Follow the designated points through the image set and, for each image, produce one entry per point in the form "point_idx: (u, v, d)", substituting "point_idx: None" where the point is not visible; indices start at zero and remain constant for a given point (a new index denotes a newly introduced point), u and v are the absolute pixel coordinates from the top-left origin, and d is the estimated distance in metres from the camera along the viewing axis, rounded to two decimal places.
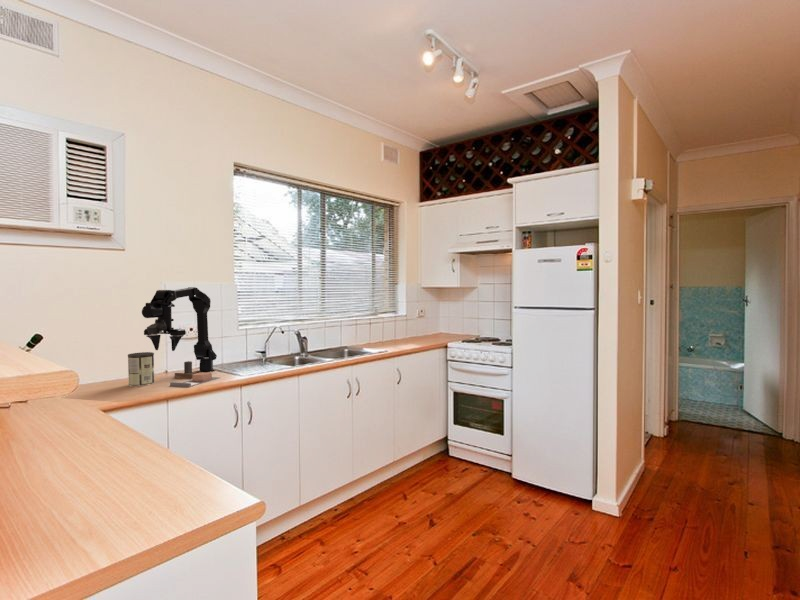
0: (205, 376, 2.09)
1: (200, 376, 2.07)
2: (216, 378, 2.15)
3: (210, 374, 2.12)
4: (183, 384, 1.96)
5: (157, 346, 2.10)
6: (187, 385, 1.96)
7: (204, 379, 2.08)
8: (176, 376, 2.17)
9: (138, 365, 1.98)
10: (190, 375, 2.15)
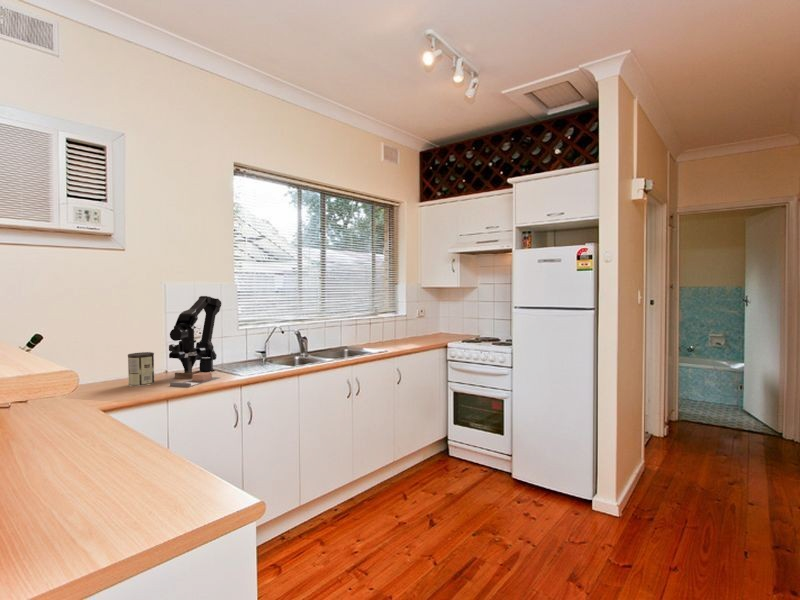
0: (205, 376, 2.09)
1: (200, 376, 2.07)
2: (216, 378, 2.15)
3: (210, 374, 2.12)
4: (183, 384, 1.96)
5: None
6: (187, 385, 1.96)
7: (204, 379, 2.08)
8: (176, 376, 2.17)
9: (138, 365, 1.98)
10: (190, 374, 2.15)
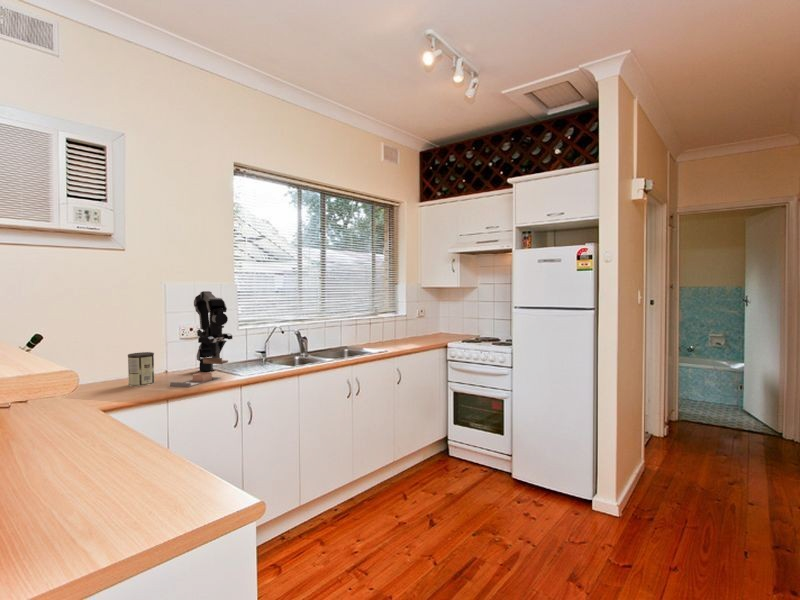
0: (205, 376, 2.09)
1: (200, 376, 2.07)
2: (216, 378, 2.15)
3: (210, 374, 2.12)
4: (183, 384, 1.96)
5: None
6: (187, 385, 1.96)
7: (204, 379, 2.08)
8: (204, 360, 2.19)
9: (138, 365, 1.98)
10: (218, 359, 2.16)
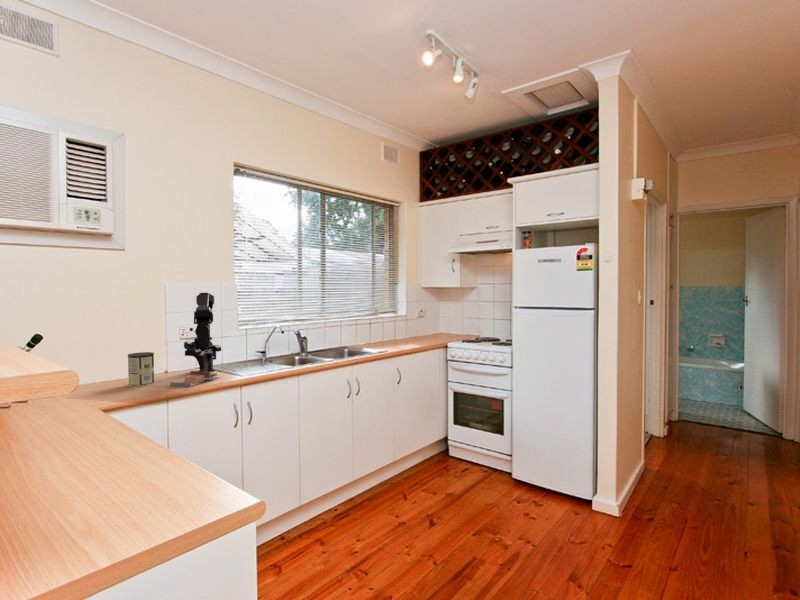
0: (198, 378, 2.04)
1: (192, 378, 2.03)
2: (216, 378, 2.15)
3: (203, 376, 2.07)
4: (183, 384, 1.96)
5: None
6: (187, 385, 1.96)
7: (197, 381, 2.03)
8: (192, 374, 2.10)
9: (138, 365, 1.98)
10: (206, 373, 2.08)
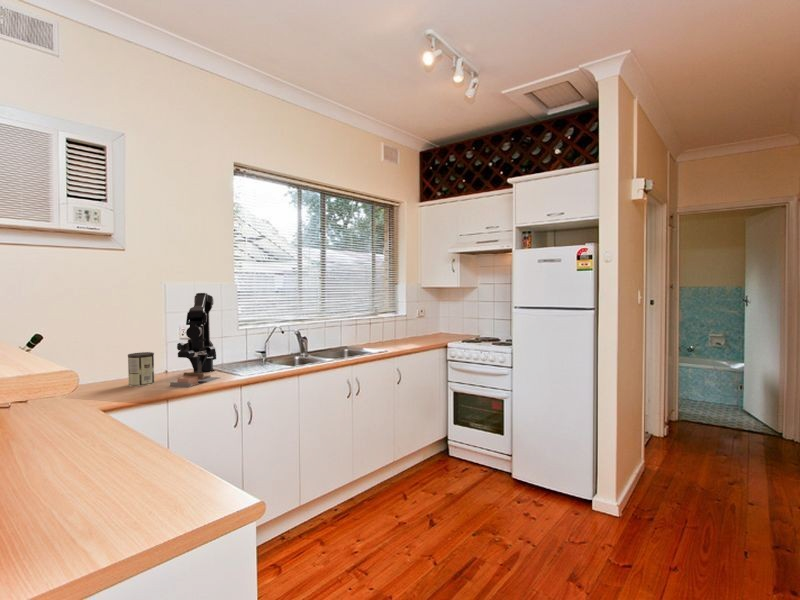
0: (191, 380, 2.00)
1: (185, 380, 1.98)
2: (216, 378, 2.15)
3: (196, 378, 2.03)
4: (183, 384, 1.96)
5: None
6: (187, 385, 1.96)
7: None
8: None
9: (138, 365, 1.98)
10: (199, 375, 2.04)
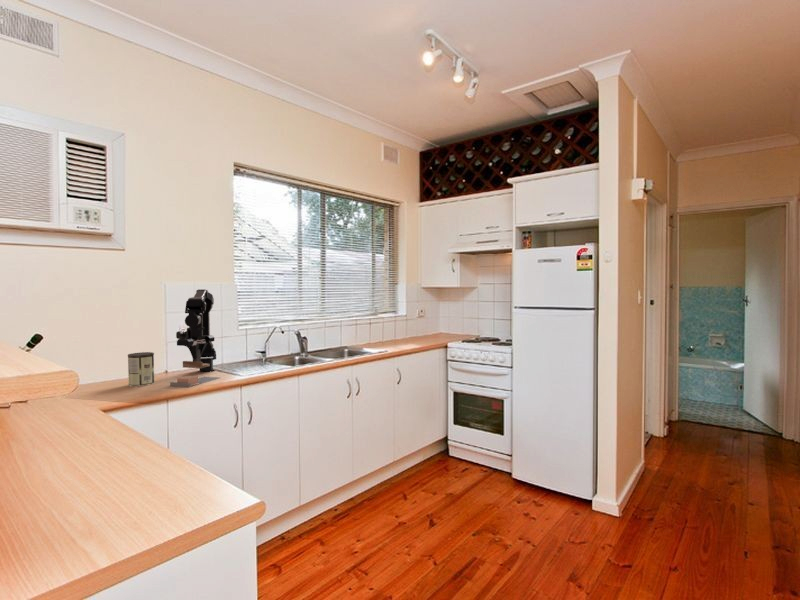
0: (190, 380, 1.99)
1: (185, 380, 1.98)
2: (216, 378, 2.15)
3: (196, 378, 2.03)
4: (183, 384, 1.96)
5: None
6: (187, 385, 1.96)
7: None
8: (184, 364, 2.07)
9: (138, 365, 1.98)
10: (199, 363, 2.04)
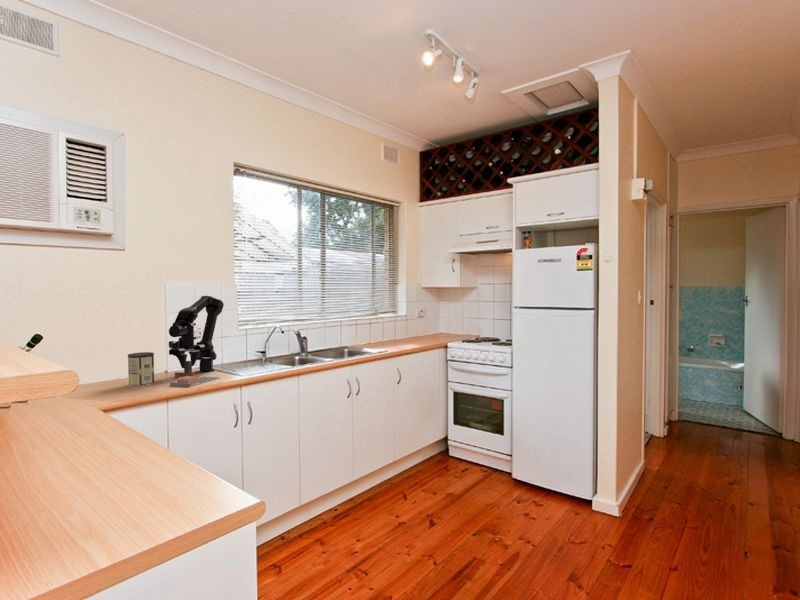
0: (190, 380, 1.99)
1: (185, 380, 1.98)
2: (216, 378, 2.15)
3: (196, 378, 2.03)
4: (183, 384, 1.96)
5: (192, 362, 2.23)
6: (187, 385, 1.96)
7: None
8: (176, 375, 2.18)
9: (138, 365, 1.98)
10: (190, 374, 2.16)
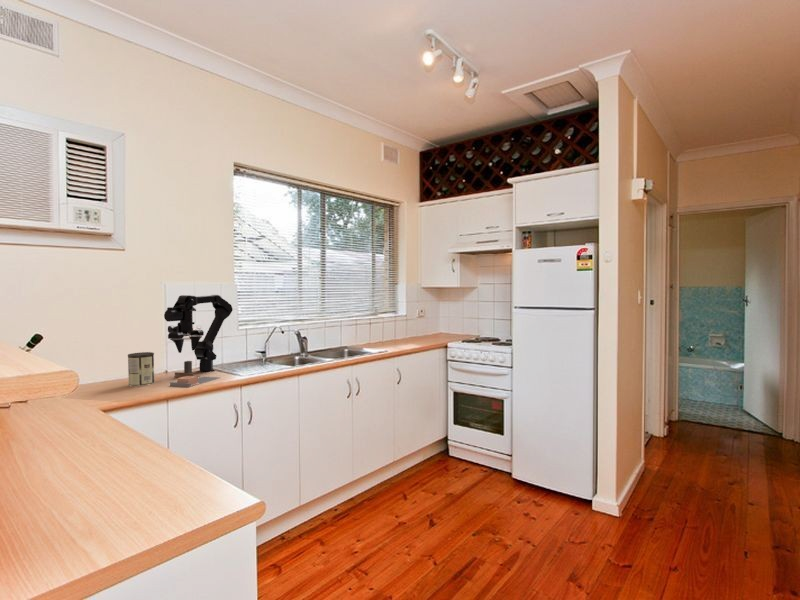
0: (190, 380, 1.99)
1: (185, 380, 1.98)
2: (216, 378, 2.15)
3: (196, 378, 2.03)
4: (183, 384, 1.96)
5: (193, 347, 2.29)
6: (187, 385, 1.96)
7: None
8: (176, 375, 2.18)
9: (138, 365, 1.98)
10: (190, 374, 2.16)
